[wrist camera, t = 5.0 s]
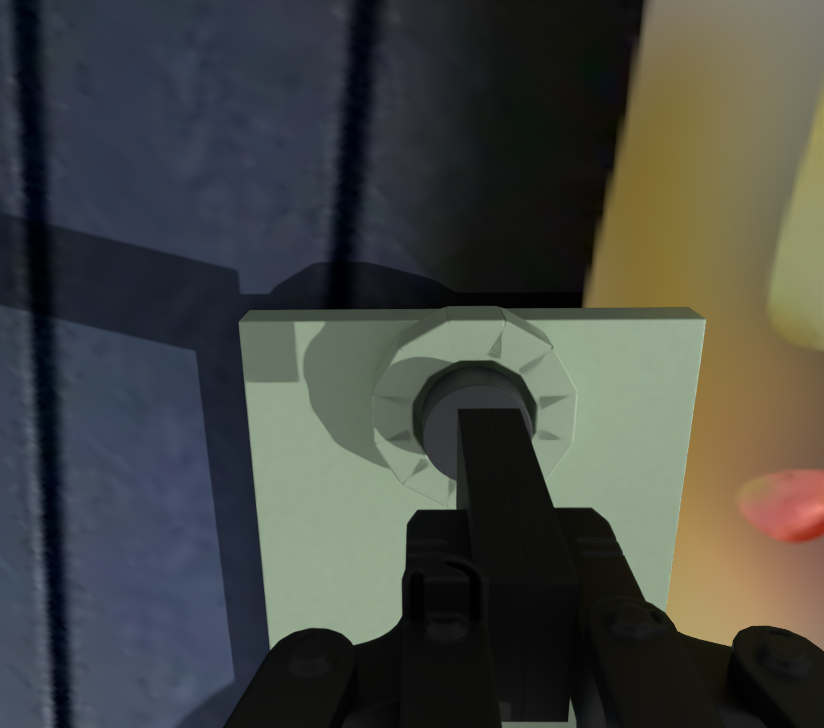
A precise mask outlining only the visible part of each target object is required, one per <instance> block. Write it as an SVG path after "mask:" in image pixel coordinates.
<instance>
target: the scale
mask: <svg viewBox="0 0 824 728" xmlns="http://www.w3.org/2000/svg"><path fill="white" fill-rule="evenodd" d="M705 325H706V319H705V318H704V317H702V316H701V315H699V314H698V313H696V312H695V311H693V310H692V309H690V308H688V307H682V308H681V307H677V308H514V309H504V308H502V307H498V306H448V307H444V308H442V309H350V310H249V311H248V312H247V313H246V315H245V316H244V317H243V318H242V319H241V320H240V321H239V332H240V343H241V353H242V363H243V374H244V384H245V395H246V405H247V416H248V426H249V437H250V447H251V457H252V468H253V478H254V489H255V499H256V510H257V520H258V530H259V541H260V551H261V562H262V572H263V583H264V593H265V604H266V614H267V624H268V635H269V645H270V650H271V649H272V648H273V647H274V646H275V644H276V643H277V642H278V641H279V640H281V639H282V638H284V637H286V636H288V635H289V634H291V633H293V632H296V631H300V630H304V629H308V628H328V629H331V630H333V631H336V632H339V633H342V634H343V635H344V636H345V637H346V638H348V639H349V640H350V641H351V642H352V644H353V645H356V644H360V643H364V642H367V641H370V640H373V639H376V638H379V637H381V636H382V635H384V634H386V633H387V632H389V631H390V630H391V629H392V628H393V627H395V626H396V625H397V624H398V622H399V620H400V619H401V617H402V577H403V574H404V571H405V564H406V531H407V523H408V521H409V520H410V519H411V517H412V516H413V515H414V513H415V512H416V511H417V509H456V481H455V480H453V479H450V478H449V477H447V476H445V475H444V474H442V473H441V472H440V471H438V469H437V468H436V467H435V466H434V465H433V464H432V463H431V461H430V460H429V458H428V456H427V454H426V451H425V449H424V444H423V433H422V410H423V404H424V401H425V398H426V396H427V394H428V392H429V390H430V389H431V387H432V386H433V385H434V384H435V383H436V382H437V380H439V379H440V378H441V377H442V376H444V375H445V374H447V373H449V372H451V371H453V370H456V369H459V368H463V367H468V366H482V367H487V368H491V369H494V370H496V371H498V372H501V373H502V374H504V375H505V376H507V377H508V378H509V379H510V380H511V381H512V382H513V383H514V384H515V385H516V387H517V388H518V390H519V391H520V393H521V396H522V398H523V401H524V403H525V406H526V408H527V411H528V413H529V416H530V419H531V422H532V429H533V437H532V445H533V448H534V451H535V453H536V456H537V459H538V462H539V465H540V468H541V471H542V474H543V477H544V479H545V482H546V485H547V488H548V491H549V494H550V497H551V500H552V503H553V505H554V507H592V508H593V509H594V510H595V511H597V512H598V513H599V514H600V515H601V516H603V517H604V518H605V519H606V520H607V521H608V522H609V523H610V526H611V528H612V530H613V532H614V534H615V536H616V540H617V541H618V543H619V545H620V547H621V549H622V551H623V555H625V558H626V560H627V562H628V564H629V566H630V568H631V570H632V572H633V575H634V577H635V579H636V581H637V583H638V585H639V587H640V589H641V592H642V594H643V596H644V598H645V600H646V601H647V602H649V603H652V604H653V605H655V606H656V607H658V608H659V609H661V610H662V611H664V612H665V611H666V605H667V597H668V590H669V582H670V576H671V569H672V562H673V555H674V547H675V540H676V533H677V525H678V518H679V511H680V504H681V497H682V490H683V483H684V475H685V468H686V461H687V454H688V447H689V440H690V433H691V426H692V418H693V411H694V404H695V397H696V389H697V383H698V375H699V368H700V361H701V354H702V347H703V340H704V332H705ZM501 723H502V728H576V718H575V714H574V710H573V706H572V703H571V699H570V706H569V717H568V722H501Z"/></svg>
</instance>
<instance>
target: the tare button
mask: <svg viewBox="0 0 824 728" xmlns="http://www.w3.org/2000/svg"><path fill="white" fill-rule="evenodd" d="M465 408H520V410H521V413H522V416H523V419H524V422H525V425H526V427H527V430H528V433H529V436H530V439H531V442H532V437H533V429H532V422H531V419H530V416H529V413H528V411H527V408H526V406H525V403H524V401H523V398H522V396H521V393H520V391H519V390H518V388H517V387H516V385H515V384H514V383H513V382H512V381H511V380H510V379H509V378H508V377H507V376H505V375H504V374H502V373H501V372H498V371H496V370H494V369H491V368H487V367H482V366H468V367H463V368H459V369H456V370H453V371H451V372H449V373H447V374H445V375H444V376H442V377H441V378H440V379H439V380H437V382H436V383H435V384H434V385H433V386H432V387H431V389H430V390H429V392H428V394H427V396H426V398H425V401H424V404H423V410H422V433H423V444H424V449H425V451H426V454H427V456H428V458H429V460H430V461H431V463H432V464H433V465H434V466H435V467H436V468H437V469H438V471H440V472H441V473H442V474H444V475H445V476H447V477H449V478H450V479H453V480H455V481H457V418H458V409H465Z"/></svg>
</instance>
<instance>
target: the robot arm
mask: <svg viewBox="0 0 824 728" xmlns="http://www.w3.org/2000/svg"><path fill="white" fill-rule="evenodd" d="M570 699H571V703H572V706H573V710H574V714H575V718H576V728H824V651H823V650H822V649H820V648H819V647H817V646H816V645H815V644H813V643H812V642H811V641H809V640H807V639H806V638H804V637H802V636H800V635H798V634H795V633H793V632H791V631H789V630H786V629H781V628H777V627H772V626H751V627H748V628H746V629H743V630H741V631H739V632H738V634H737V635H736V637H735V638H734V640H733V644H732V647H730V646H726V645H721V644H717V643H713V642H709V641H704V640H700V639H697V638H693V637H690V636H687V635H684V634H682V633H680V632H678V631H677V629H676V627H675V625H674V623H673V622H672V621H671V620H670V618H669V617H668V616H667V615H666V613H665V612H664V611H662V610H661V609H659V608H658V607H656V606H655V605H653V604H652V603H649V602H647V601H646V600H645V598H644V596H643V594H642V592H641V589H640V587H639V585H638V583H637V581H636V579H635V577H634V575H633V572H632V570H631V568H630V566H629V564H628V562H627V560H626V558H625V555H623V551H622V549H621V547H620V545H619V543H618V541H617V540H616V536H615V534H614V532H613V530H612V528H611V526H610V523H609V522H608V521H607V520H606V519H605V518H604V517H603V516H601V515H600V514H599V513H598V512H597V511H595V510H594V509H593V508H592V507H554V505H553V503H552V500H551V497H550V494H549V491H548V488H547V485H546V482H545V479H544V477H543V474H542V471H541V468H540V465H539V462H538V459H537V456H536V453H535V451H534V448H533V445H532V442H531V439H530V436H529V433H528V430H527V427H526V425H525V422H524V419H523V416H522V413H521V410H520V408H465V409H458V418H457V481H456V509H417V511H416V512H415V513H414V515H413V516H412V517H411V519H410V520H409V521H408V523H407V531H406V564H405V571H404V574H403V577H402V617H401V619H400V620H399V622H398V624H397V625H396V626H395V627H393V628H392V629H391V630H390V631H389V632H387V633H386V634H384V635H382V636H381V637H379V638H376V639H373V640H370V641H367V642H364V643H360V644H356V645H353V644H352V642H351V641H350V640H349V639H348V638H346V637H345V636H344V635H343V634H342V633H339V632H336V631H333V630H331V629H328V628H308V629H304V630H300V631H296V632H293V633H291V634H289V635H288V636H286V637H284V638H282V639H281V640H279V641H278V642H277V643H276V644H275V646H274V647H273V648H272V649H271V650H270V651H269V653H268V654H267V656H266V657H265V659H264V661H263V662H262V664H261V666H260V667H259V669H258V671H257V672H256V674H255V676H254V677H253V679H252V680H251V682H250V684H249V685H248V687H247V689H246V690H245V692H244V694H243V695H242V697H241V699H240V700H239V702H238V703H237V705H236V707H235V708H234V710H233V712H232V713H231V715H230V717H229V718H228V720H227V722H226V723H225V725H224V727H223V728H502V723H501V722H568V717H569V706H570Z"/></svg>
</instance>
